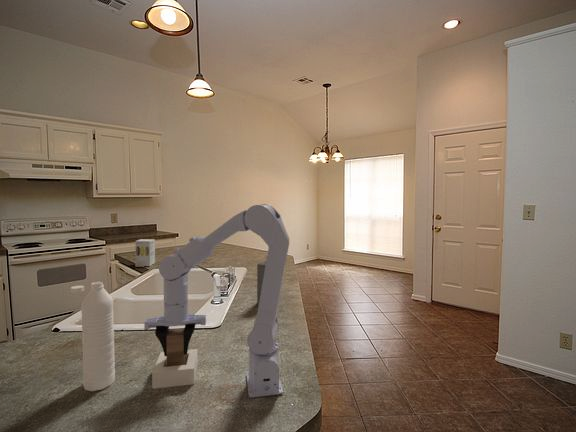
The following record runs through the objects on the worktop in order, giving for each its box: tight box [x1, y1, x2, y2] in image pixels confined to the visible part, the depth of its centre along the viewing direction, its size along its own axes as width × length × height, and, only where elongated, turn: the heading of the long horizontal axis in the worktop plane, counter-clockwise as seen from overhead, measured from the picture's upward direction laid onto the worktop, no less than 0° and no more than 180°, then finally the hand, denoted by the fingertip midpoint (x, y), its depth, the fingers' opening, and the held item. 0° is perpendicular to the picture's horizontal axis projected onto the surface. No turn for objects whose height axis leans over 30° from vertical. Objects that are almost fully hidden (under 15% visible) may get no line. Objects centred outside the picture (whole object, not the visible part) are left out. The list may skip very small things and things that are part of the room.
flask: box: [256, 256, 267, 306], centre depth 132 cm, size 15×6×20 cm, turn 153°
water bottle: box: [70, 281, 116, 392], centre depth 70 cm, size 9×6×25 cm
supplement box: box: [134, 238, 156, 268], centre depth 195 cm, size 10×9×17 cm
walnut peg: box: [166, 327, 186, 367], centre depth 76 cm, size 4×4×8 cm
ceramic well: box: [151, 348, 199, 390], centre depth 76 cm, size 10×10×4 cm
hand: (176, 353), depth 76 cm, fingers closed on walnut peg, 4 cm apart
